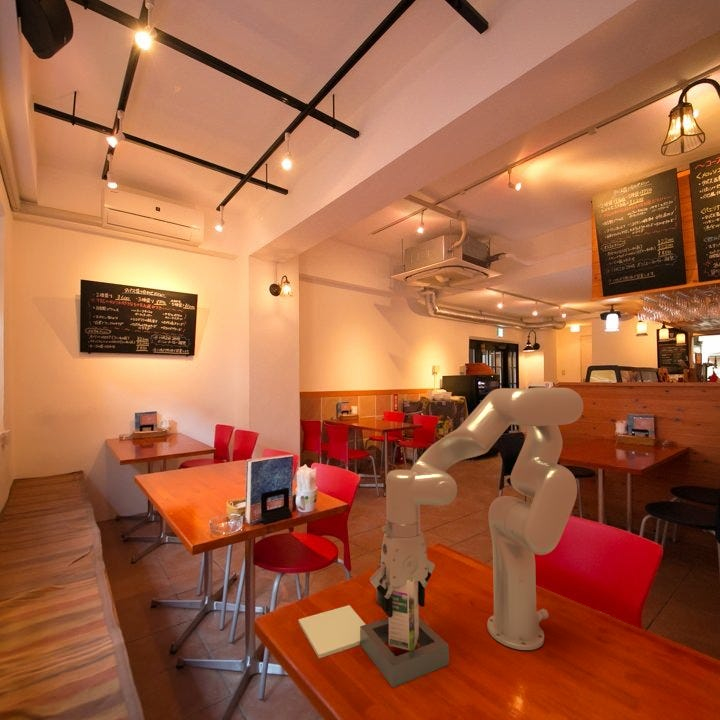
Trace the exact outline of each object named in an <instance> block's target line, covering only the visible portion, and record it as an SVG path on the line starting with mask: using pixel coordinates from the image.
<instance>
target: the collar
mask: <svg viewBox="0 0 720 720" xmlns="http://www.w3.org/2000/svg"><path fill="white" fill-rule="evenodd" d="M365 624H366V625H363V626H360V645H359V646H360V647H361V649H362V650H364V652H365V653H366V654H367V656H368V657H369V659H370V660H371V661H372V663H373V664H374V666H375V667H376V668H377V669H378V671H379V672H380V673H381V674H382V676H383V677H384V678H385V679H386V680H387V682H388V683H389V685H390V686H391V687H392V688H396V687H398V686H401V685H404V684H406V683H408V682H410V681H412V680H415V679H418V678H420V677H422V676H425V675H427V674H429V673H432V672H434V671H437V670H440V669H441V668H444V667H446V666H448V665H449V664H450V653H449V652H450V647H449V646H450V645H449V644H448V642H446V641H445V639H443V638H442V637H441V636H440V634H437V633H436V631H434V630H433V629H432V628H431V627H430V626H429V625H428V624H427V623H425V621H424V620H422V619H421V618H420V617H419V637H418V640H417V643H416V644H417V645H419V648H415V649H414V650H413V651H407V652H405V653H402V654H400V655H397V656H396V655H395V653H394V652H392V650H391V649H390V648H389V647H388V646H387V644H386V643H389V617H388V616H387V617H386V618H383V619H382V618H381V619H378V620H376V621H373V622H369V623H365ZM449 666H450V665H449Z"/></svg>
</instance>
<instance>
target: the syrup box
mask: <svg viewBox="0 0 720 720" xmlns="http://www.w3.org/2000/svg"><path fill="white" fill-rule="evenodd" d="M388 585H389V584H388ZM391 597H392V599H393V616H392V617H389V642H388V646H389V647H390V648H391V647H393V648H397V649H402V650H406V651H408V652H410V651H413V650H415V649H416V646H417V644H418V643H417V640H418V637H419V618H420V616H419V614H420V613H419V611H420V609H419V606H420V605H419V604H418V582H415V581H414V578H413V579H410V580H407V584H406V585H404V586H401V587H397V588H394V589H393V591H392V593H391Z"/></svg>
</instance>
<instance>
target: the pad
mask: <svg viewBox="0 0 720 720" xmlns="http://www.w3.org/2000/svg"><path fill="white" fill-rule="evenodd" d="M366 624H367V623H365V622H364V621H363V620H362V618H361V617H360V616H359V614H357V613H356V611H355V610H354V608H352V606H351V605H350V604H349V605H348V604H347V605H345V606H341V607H338V608H334V609H332V610H326V611H324V612H320V613H317V614H314V615H309V616H306V617H303V618H299V619H298V625H299V627H300V628H301V630H302V631H303V634H304V636H305V638H306V639H307V641H308V642H309V644H310V645H311V648H312V649H313V650H314V653H315V655H316V657H317V658H318V659H322V658H324V657H327V656H331V655H333V654H336V653H339V652H343V651H346V650H348V649H351V648H354V647H356V646H357V647H358V646H361V645H360V626H363V625H366Z"/></svg>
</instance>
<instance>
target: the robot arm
mask: <svg viewBox="0 0 720 720" xmlns="http://www.w3.org/2000/svg"><path fill="white" fill-rule="evenodd" d="M583 412H584V401H583V399H582V397H581V395H580V394H579V393H578V392H576V390H573V389H571V388H569V387H541V386H539V387H529V388H518V387H517V388H511V387H510V388H508V387H506V388H505V387H502V388H496V389H493V390H491V391H490V392H489V393H488V394H487V395H486V396H485V397H484V398H483V399H482V401H480V403H479V404H478V405H477V406H476V407H475V408H474V410H473V411H472V412H471V413H470V414H469V415H468V416H467V418H465V420H464V421H463V422H462V423H461V424H460V425H459V426H458V427H457V428H456V429H455V430H453V431H451V432H449V433H448V434H446V435H445V436H444V437H442V438H440V439H439V440H437V441H436V442H435V443H433V444H431V446H429V447H428V448H427V449H426V450H425V451H424V452H423V453H422V455H421V456H419V458H418V459H417V460H416V461H415V463H414V464H413V465H412V467H411V468H410V469H395V470H390V471H389V472H388V473H387V474H386V480H385V486H386V487H385V490H386V491H385V497H386V498H385V506H386V508H385V509H386V517H385V518H386V520H385V524H384V525H382V526H381V531H382V532H383V533H384V534H383V539H382V544H381V552H380V555H381V566H380V568H379V569H378V570H377V569H376V570H377V571H375V572H374V573H373V574H372V576H371V577H370V578H369V582H370V583H371V584H372V586H373V587H374V589H375V590H376V591H377V590H378V591H379V592H380V593H381V594H382V606H381V610H382V612H383V613H384V614H386V615H387V618H388V617H392V616H393V599H392V597H391V593H392V591H393V589H394V588H397V587H401V586H404V585H406V584H407V580H410V579H413V578H414V581H415V582H418V605H419V606H420V607H421V608H424V607H425V606H426V605H425V603H426V602H425V600H426V588H427V587H428V582H429V579H430V578H431V576H432V572H433V571H434V569H435V563H434V562H432V561H430V560H429V559H428V553H427V546H426V545H427V544H426V540H425V536H424V532H423V531H422V530H421V505H422V506H423V505H425V506H433V507H434V506H435V507H436V506H437V507H439V506H441V507H442V506H448V505H449V504H450V503H452V502H453V501H454V500H455V498H456V497H457V494H458V486H457V482H456V480H455V479H454V477H452V476H451V475H450V474H448V473H447V472H446V471H447V470H448V469H449V468H451V467H452V466H453V465H455V464H456V463H458V462H461V461H463V460H467V459H470V458H475V457H478V456H479V457H480V456H481V455H484V454H486V453H488V452H489V451H490V449H492V447H493V446H494V445H495V443H496V442H497V441H498V439H499V438H500V437H501V436H502V435H503V434H504V432H505V431H506V430H507V429H508V428H509V426H511V425H515V426H522V427H526V435H525V438H524V439H525V440H524V442H523V445H522V448H521V450H520V451H519V454H518V456H517V459H516V462H515V463H514V465H513V467H512V470H511V473H510V480H509V481H510V484H511V486H512V487H513V489H514V490H515V491H517V492H518V493H519V494H521V495H523V496H525V497H528V498H530V499H532V502H531V503H529V502H527V501H525V500H522V499H520V498H518V497H514V496H511V495H510V496H509V495H502V496H499V497H496V498H495V499H494V500H493V501H492V502H491V503H490V506H489V508H488V509H489V510H488V515H487V516H488V525H489V530H490V531H489V532H490V537H491V544H492V574H493V575H492V577H493V578H492V579H493V582H492V583H493V615H491V616H490V617H489V618H488V620H487V621H486V622H487V623H486V624H487V626H486V627H487V631H488V633H489V634H490V636H491V637H492V638H493V639H494V640H495V641H497V642H499V644H501V645H504V646H506V647H508V648H510V649H515V650H520V651H533V650H537V649H539V648H540V647H542V646H543V644H544V642H545V633H544V631H543V629H542V628H541V627H540V623H541V621H542V620H545V619H547V618H549V616H550V615H549V612H548V610H547V609H545V608H541V609H539V610H537V589H536V587H537V583H536V580H537V578H536V576H537V575H536V558H535V557H536V556H535V555H539V556H543V555H544V556H545V555H547V554H549V553H551V552H552V551H553V550H555V549H556V547H557V546H558V544H559V542H560V540H561V538H562V536H563V533H564V532H565V528H566V525H567V523H568V521H569V519H570V515H571V514H572V511H573V508H574V506H575V503H576V500H577V496H578V495H577V494H578V483H577V480H576V478H575V476H574V473H572V471H570V469H568V468H567V467H565V466H563V465H561V464H558V461H559V459H560V456H561V453H562V450H563V437H562V433H561V430H560V428H559V426H562V425H570V424H572V423H574V422H576V421H578V420H579V418H580V417H581V416H582V413H583ZM381 578H382V579H384V580H383V582H382V584H380V583H379V580H380V579H381ZM388 584H389V585H388ZM387 586H388V587H387ZM386 588H387V590H386Z"/></svg>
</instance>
